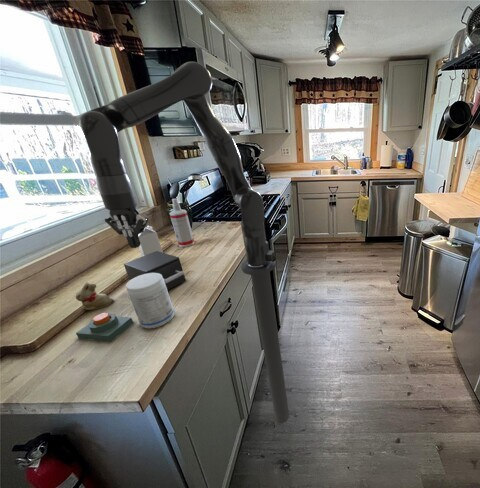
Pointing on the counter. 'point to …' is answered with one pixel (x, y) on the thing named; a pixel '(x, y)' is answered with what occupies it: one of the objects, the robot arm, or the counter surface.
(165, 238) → the counter surface
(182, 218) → the spray bottle
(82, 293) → the chocolate bunny
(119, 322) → the block
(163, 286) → the supplement tub
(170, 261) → the small drawer cabinet
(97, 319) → the button
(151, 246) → the milk carton
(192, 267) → the counter surface
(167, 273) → the drawer
